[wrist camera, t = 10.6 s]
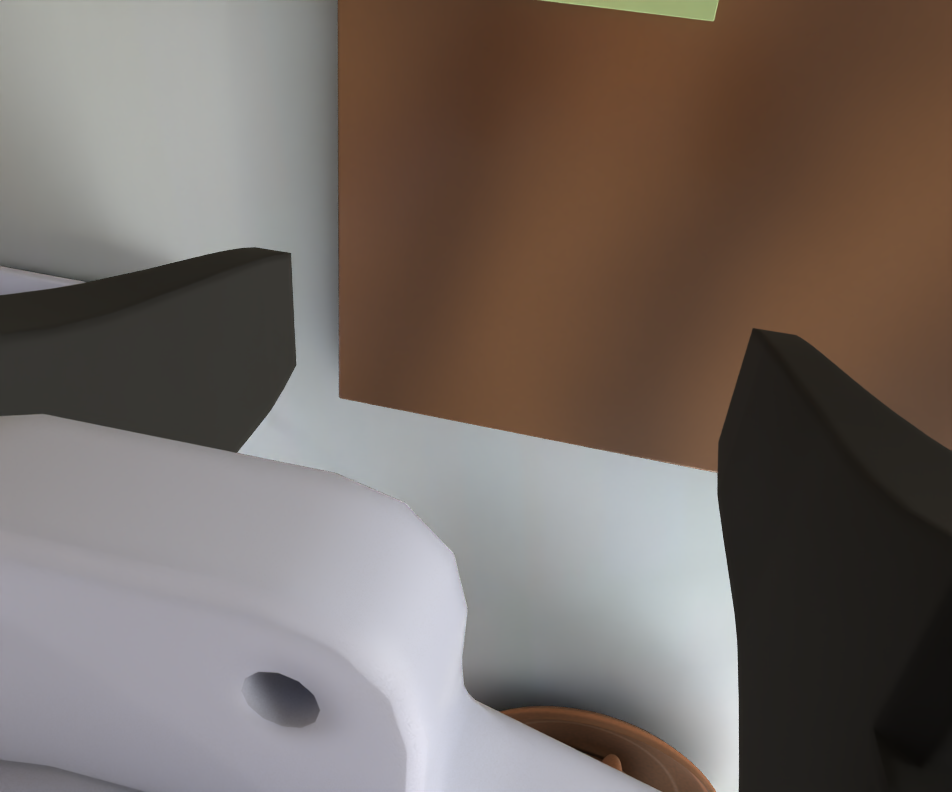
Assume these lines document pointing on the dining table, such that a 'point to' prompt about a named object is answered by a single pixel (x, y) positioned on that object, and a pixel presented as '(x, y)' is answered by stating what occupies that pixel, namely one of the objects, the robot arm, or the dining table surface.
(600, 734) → the cup and saucer
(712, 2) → the corner pad
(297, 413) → the dining table surface
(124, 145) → the dining table surface
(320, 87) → the dining table surface
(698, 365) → the board
